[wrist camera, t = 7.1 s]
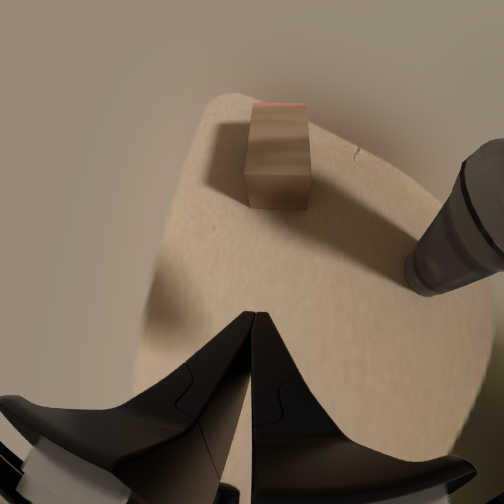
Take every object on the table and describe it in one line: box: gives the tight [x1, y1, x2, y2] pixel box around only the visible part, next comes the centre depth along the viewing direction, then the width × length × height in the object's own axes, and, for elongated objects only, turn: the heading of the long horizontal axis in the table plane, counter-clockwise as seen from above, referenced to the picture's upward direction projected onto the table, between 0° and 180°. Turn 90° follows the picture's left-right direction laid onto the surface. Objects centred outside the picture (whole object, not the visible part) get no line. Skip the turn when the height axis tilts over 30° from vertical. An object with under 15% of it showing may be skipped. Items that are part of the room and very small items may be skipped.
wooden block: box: [244, 103, 311, 210], centre depth 24 cm, size 5×5×9 cm
